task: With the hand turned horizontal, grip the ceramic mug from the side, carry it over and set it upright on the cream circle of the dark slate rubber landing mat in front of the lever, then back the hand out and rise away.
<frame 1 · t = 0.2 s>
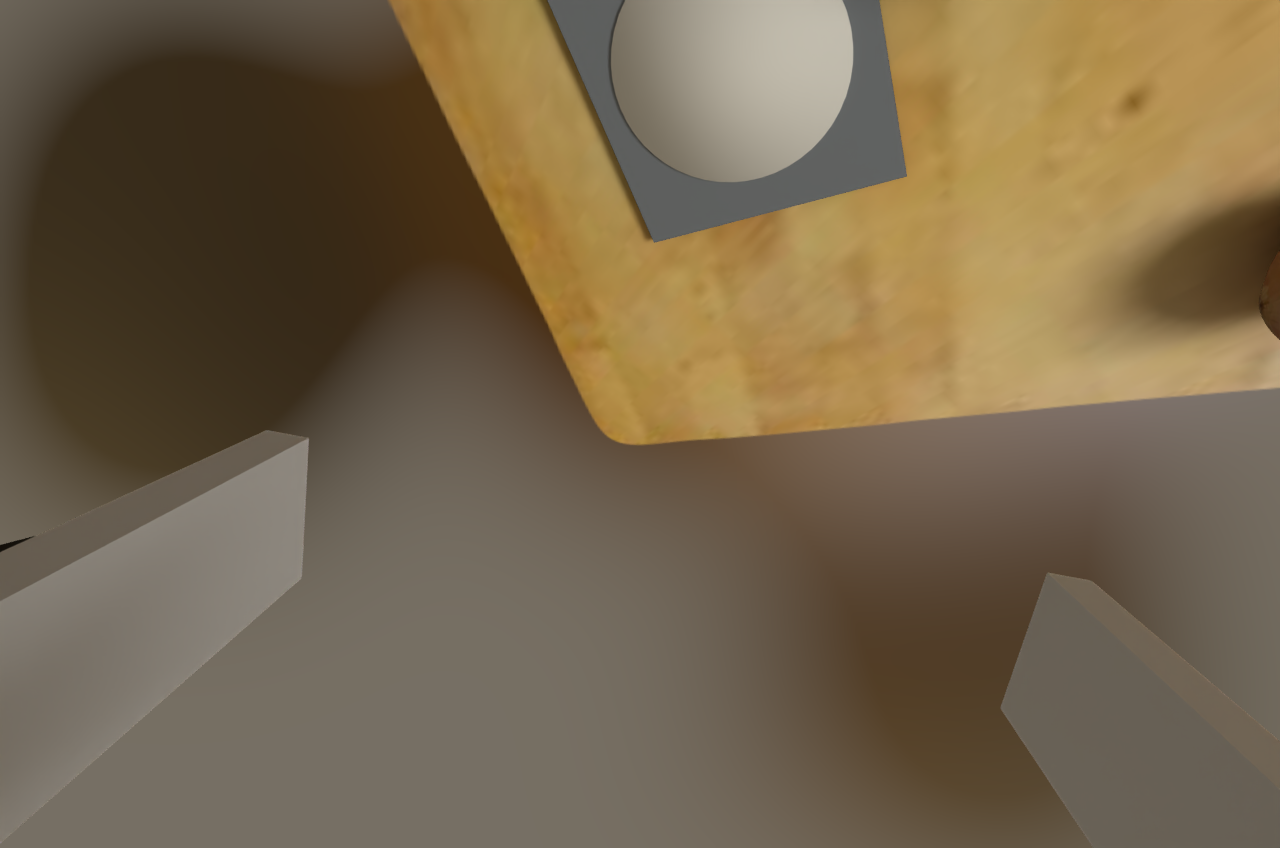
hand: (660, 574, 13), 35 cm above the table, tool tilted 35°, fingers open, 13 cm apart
landing mat: (729, 65, 40), on the table
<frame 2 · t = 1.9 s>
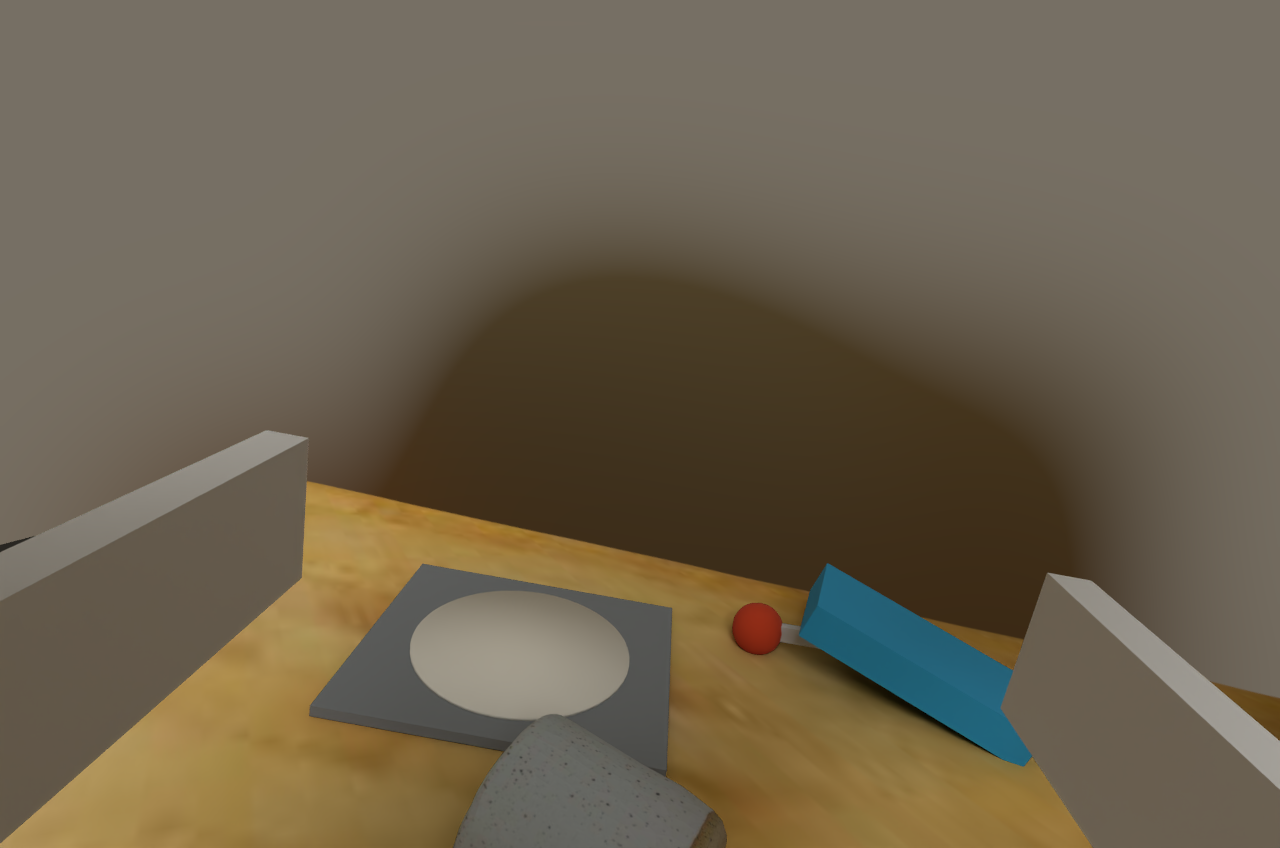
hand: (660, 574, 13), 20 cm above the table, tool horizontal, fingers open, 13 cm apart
landing mat: (521, 656, 44), on the table
lever: (867, 690, 47), on the table
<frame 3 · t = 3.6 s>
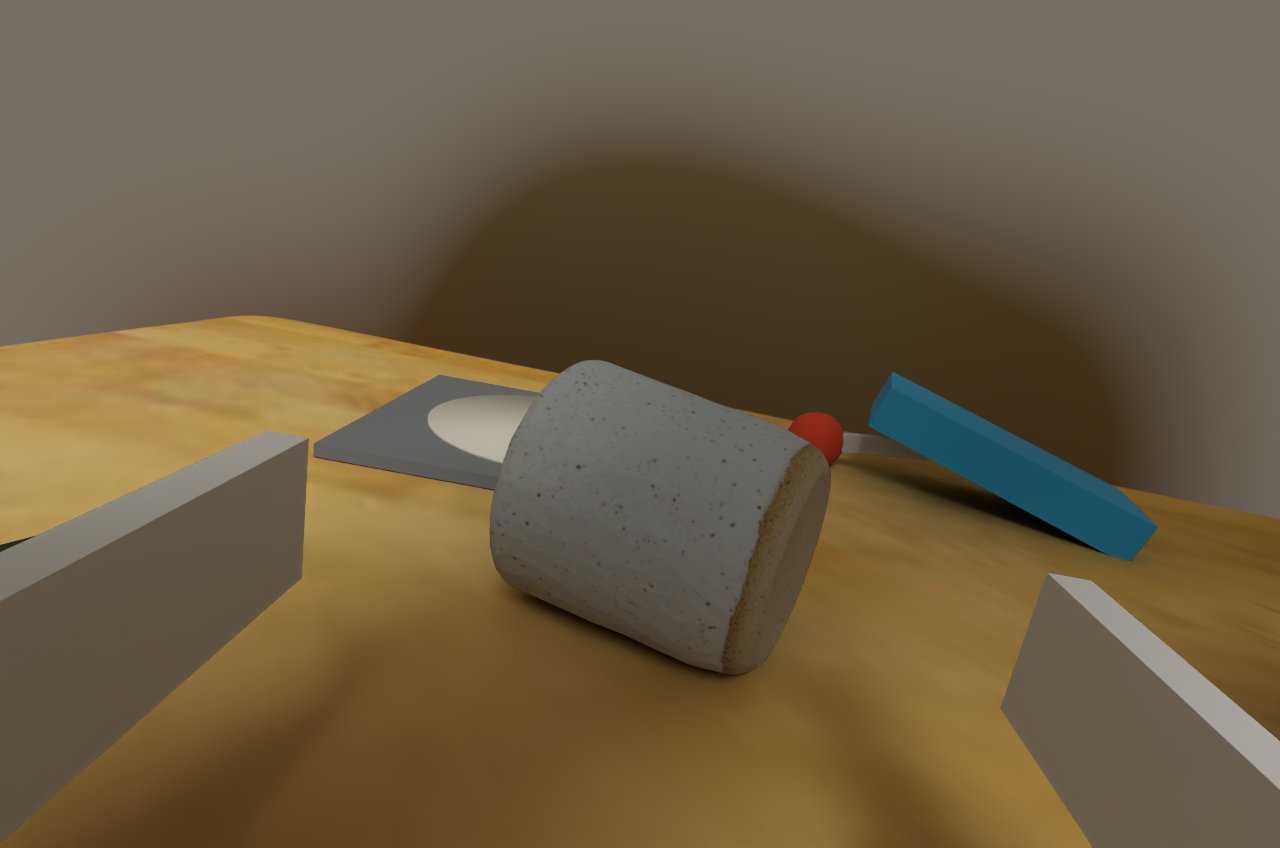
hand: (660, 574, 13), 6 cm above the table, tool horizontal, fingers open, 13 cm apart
landing mat: (552, 442, 39), on the table
lever: (940, 502, 42), on the table
ceramic mug: (656, 610, 24), on the table
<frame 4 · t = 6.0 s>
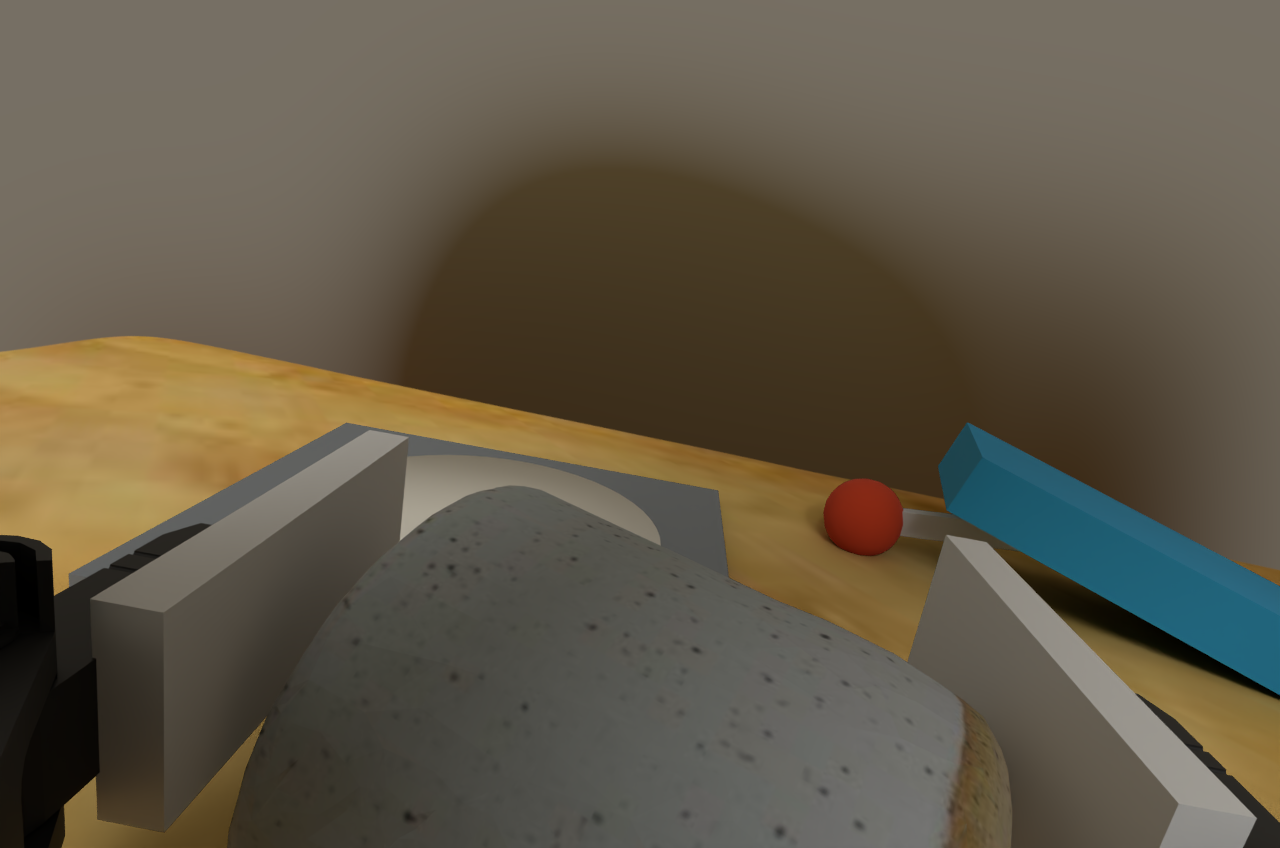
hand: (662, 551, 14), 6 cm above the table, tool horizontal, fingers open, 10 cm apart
landing mat: (484, 535, 27), on the table
lever: (1040, 610, 30), on the table
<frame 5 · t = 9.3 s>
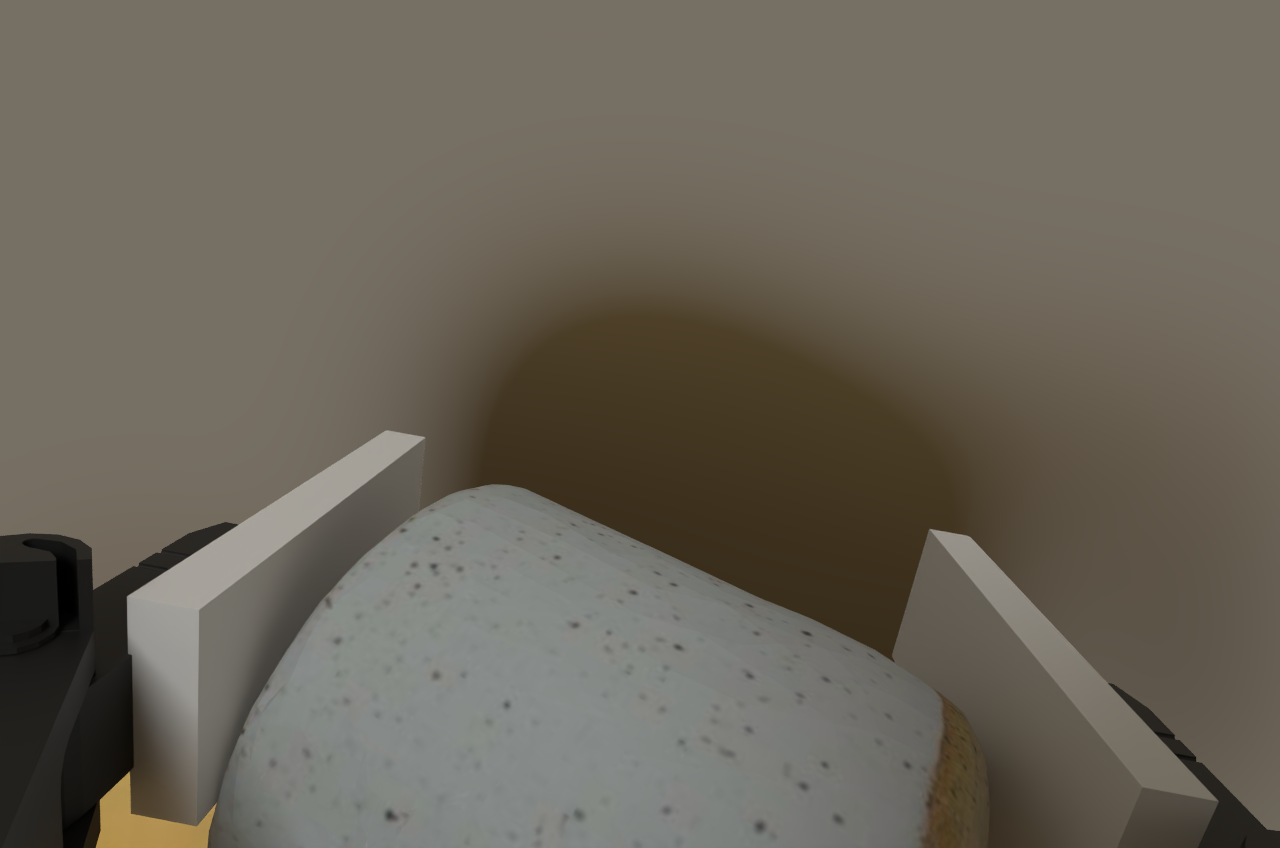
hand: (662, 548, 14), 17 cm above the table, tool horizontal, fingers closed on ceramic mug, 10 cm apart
when the fingers open (8 cm above the table, at t = 12.4 s): ceramic mug drops 1 cm, resting on landing mat.
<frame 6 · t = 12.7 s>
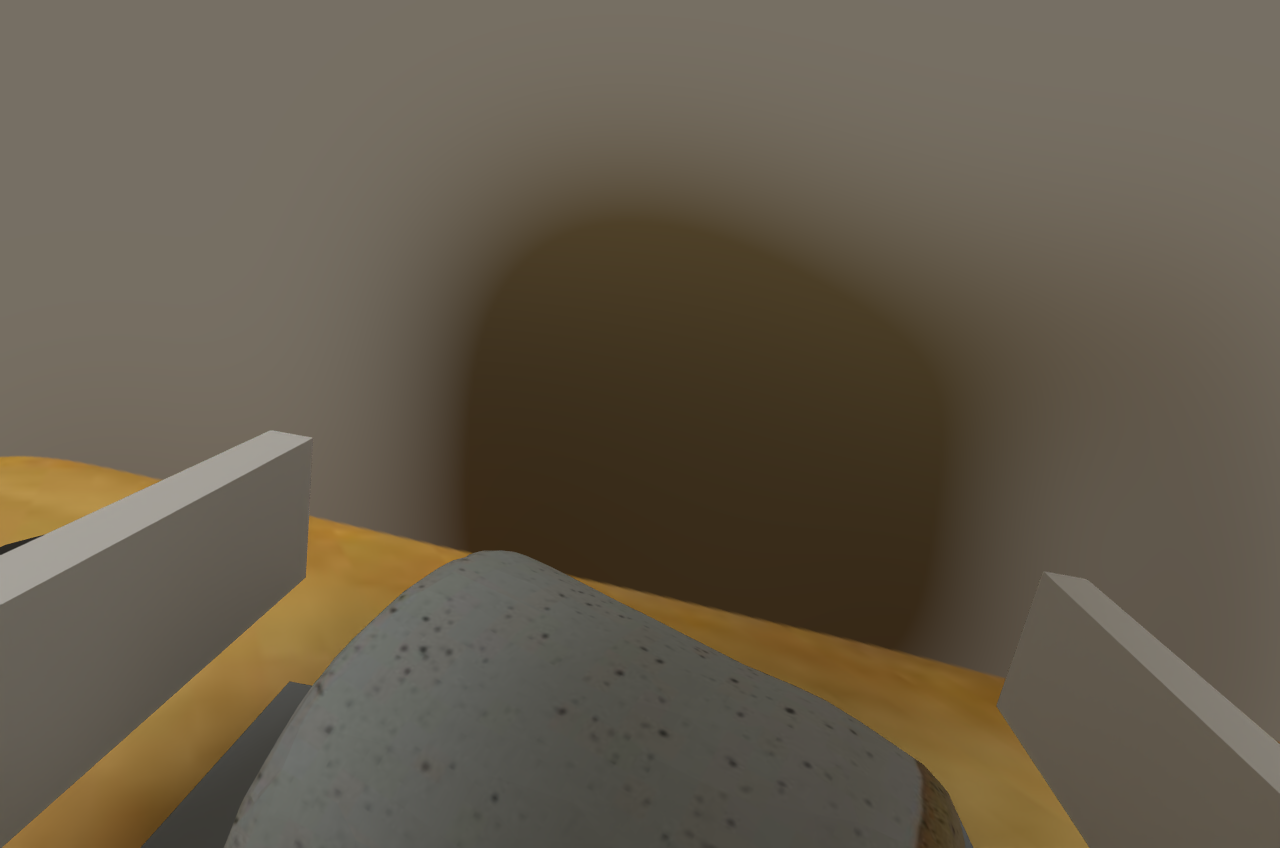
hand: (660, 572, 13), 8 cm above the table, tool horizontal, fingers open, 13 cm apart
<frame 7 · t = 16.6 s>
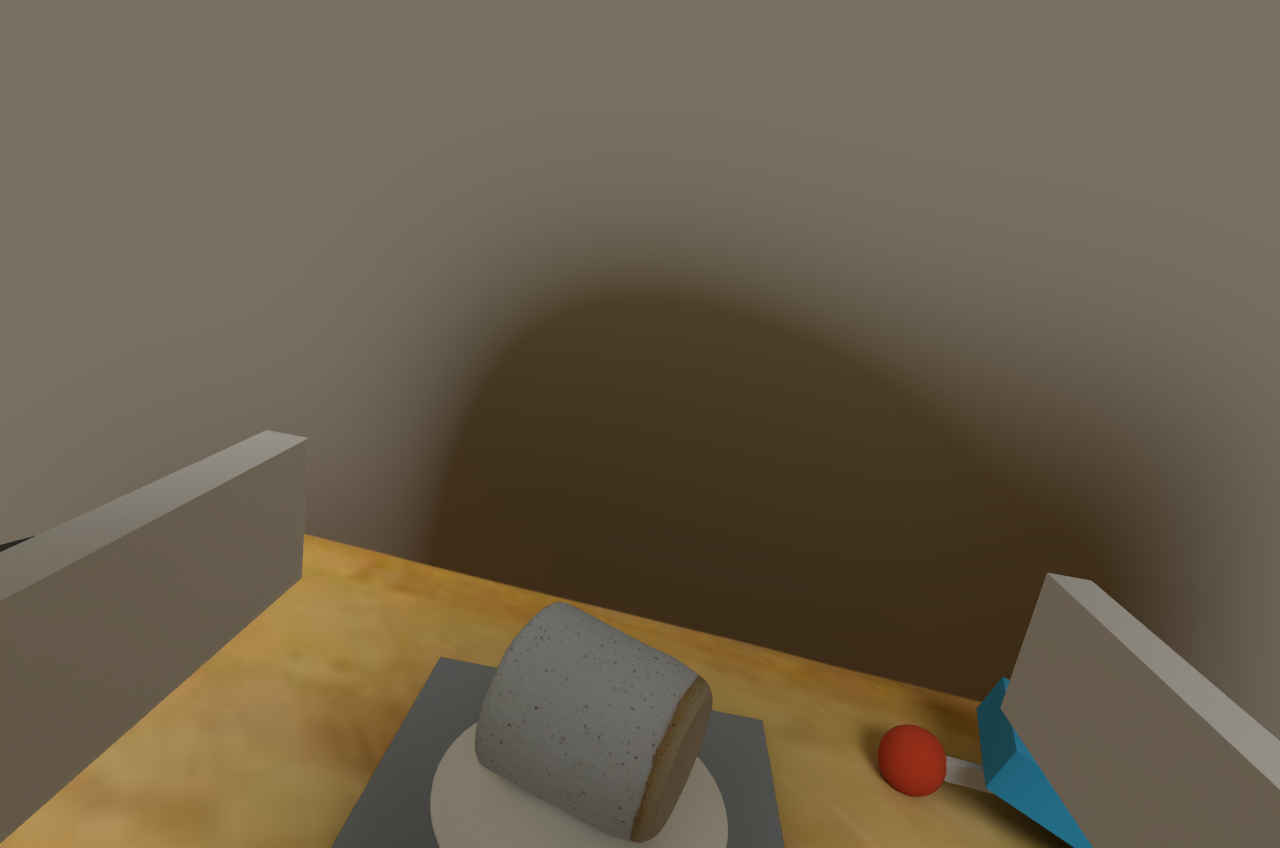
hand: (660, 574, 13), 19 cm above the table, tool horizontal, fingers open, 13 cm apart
landing mat: (580, 808, 32), on the table
ceramic mug: (593, 773, 33), point 1 cm above the table, touching landing mat
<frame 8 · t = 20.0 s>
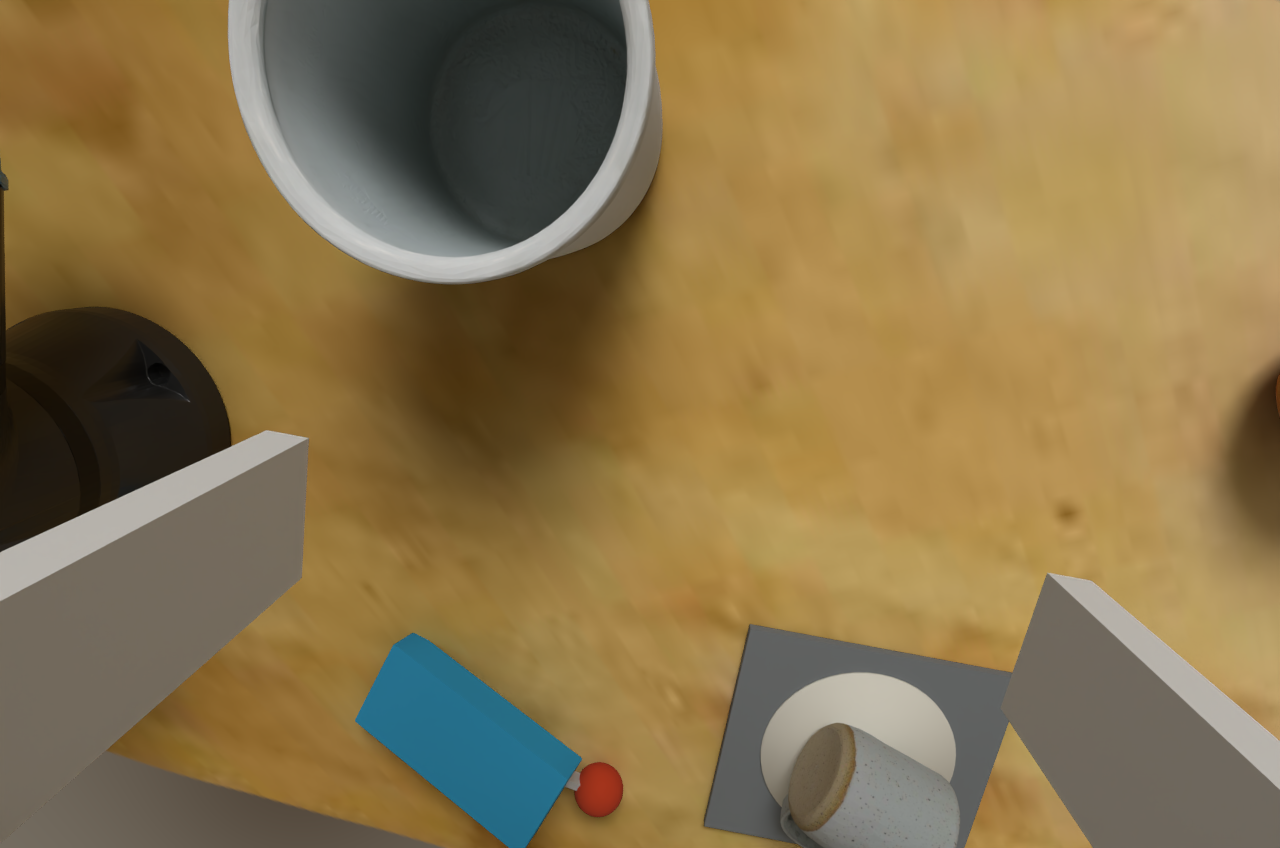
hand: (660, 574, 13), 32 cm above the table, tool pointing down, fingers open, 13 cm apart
landing mat: (854, 750, 50), on the table
lever: (506, 721, 52), on the table
ceramic mug: (846, 774, 50), point 1 cm above the table, touching landing mat
utensil holder: (539, 133, 41), on the table
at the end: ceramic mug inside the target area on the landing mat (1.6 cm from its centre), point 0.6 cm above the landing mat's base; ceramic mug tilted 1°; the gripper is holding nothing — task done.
